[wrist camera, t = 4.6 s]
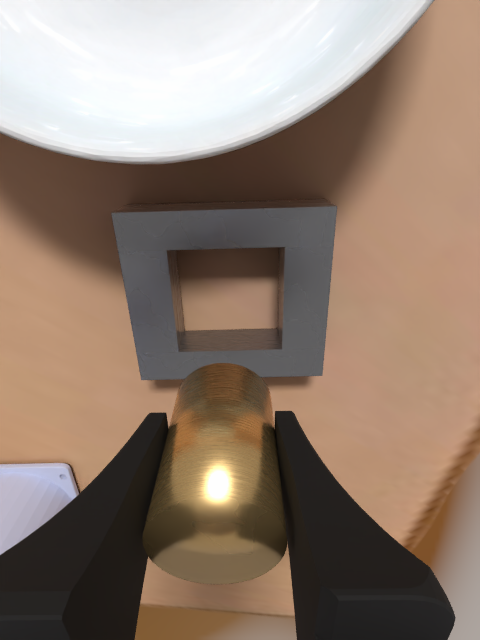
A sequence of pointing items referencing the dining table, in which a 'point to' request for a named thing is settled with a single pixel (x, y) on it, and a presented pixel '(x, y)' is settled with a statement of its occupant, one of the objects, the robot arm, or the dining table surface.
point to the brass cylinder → (218, 482)
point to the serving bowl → (181, 70)
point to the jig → (224, 233)
